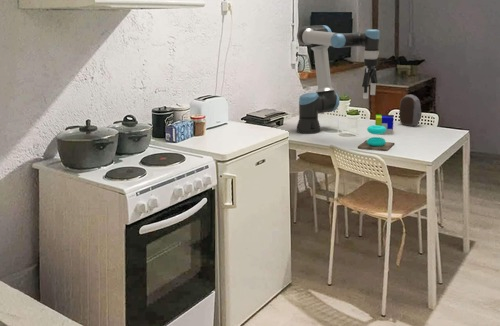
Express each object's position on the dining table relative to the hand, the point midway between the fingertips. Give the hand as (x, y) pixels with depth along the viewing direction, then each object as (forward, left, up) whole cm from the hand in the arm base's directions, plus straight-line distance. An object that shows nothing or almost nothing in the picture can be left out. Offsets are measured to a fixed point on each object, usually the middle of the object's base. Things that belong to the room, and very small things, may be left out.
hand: (369, 96), depth 297 cm
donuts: (+8, -14, -24) cm, 29 cm away
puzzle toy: (+3, +23, -25) cm, 35 cm away
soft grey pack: (+13, +51, -25) cm, 59 cm away
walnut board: (+8, -14, -25) cm, 30 cm away
